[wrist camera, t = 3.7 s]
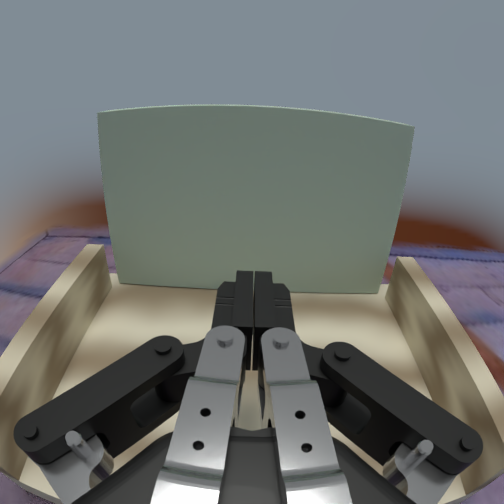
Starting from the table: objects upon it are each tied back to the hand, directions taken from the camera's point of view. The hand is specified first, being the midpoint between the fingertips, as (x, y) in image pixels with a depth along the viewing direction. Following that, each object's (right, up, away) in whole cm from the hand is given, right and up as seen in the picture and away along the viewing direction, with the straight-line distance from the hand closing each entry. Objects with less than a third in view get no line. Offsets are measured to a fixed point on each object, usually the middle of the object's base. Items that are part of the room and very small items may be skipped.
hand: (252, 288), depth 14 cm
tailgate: (0, -1, +13) cm, 13 cm away
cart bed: (0, -8, +6) cm, 10 cm away
